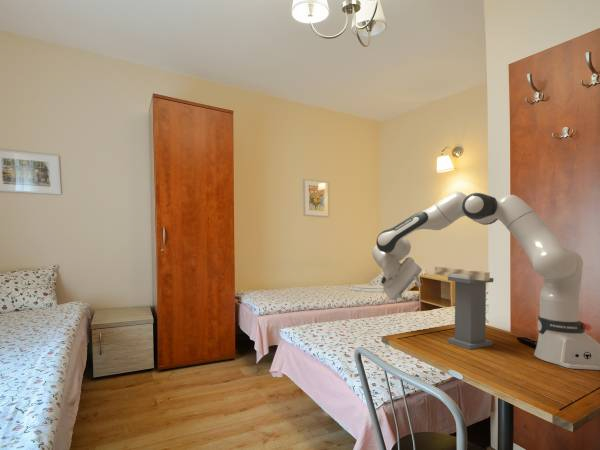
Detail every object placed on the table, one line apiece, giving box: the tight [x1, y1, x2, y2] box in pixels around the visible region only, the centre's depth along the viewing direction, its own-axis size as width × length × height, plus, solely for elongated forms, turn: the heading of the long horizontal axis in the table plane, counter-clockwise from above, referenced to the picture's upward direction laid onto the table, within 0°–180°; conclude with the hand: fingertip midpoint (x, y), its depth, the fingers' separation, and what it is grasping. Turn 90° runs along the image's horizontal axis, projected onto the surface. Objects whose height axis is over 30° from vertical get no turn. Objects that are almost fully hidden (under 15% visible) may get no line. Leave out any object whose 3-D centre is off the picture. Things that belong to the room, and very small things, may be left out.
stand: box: [446, 274, 494, 350], centre depth 138 cm, size 10×14×27 cm
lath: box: [434, 266, 491, 281], centre depth 139 cm, size 22×3×3 cm, turn 28°
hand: (412, 293), depth 152 cm, fingers open, 8 cm apart
